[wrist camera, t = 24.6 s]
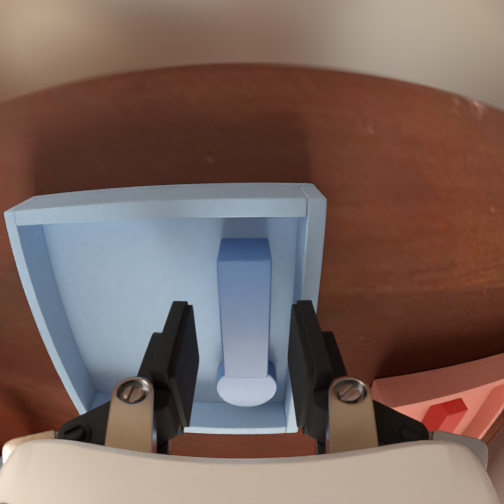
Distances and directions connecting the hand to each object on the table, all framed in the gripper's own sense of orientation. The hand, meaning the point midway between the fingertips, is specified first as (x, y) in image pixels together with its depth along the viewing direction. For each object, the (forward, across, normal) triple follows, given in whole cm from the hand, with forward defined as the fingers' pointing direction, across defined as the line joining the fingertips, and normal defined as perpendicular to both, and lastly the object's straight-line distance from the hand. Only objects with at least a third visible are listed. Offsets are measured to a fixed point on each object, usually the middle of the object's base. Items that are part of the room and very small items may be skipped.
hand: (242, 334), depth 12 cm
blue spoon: (+3, 0, +2) cm, 3 cm away
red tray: (+3, -15, +14) cm, 20 cm away
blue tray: (+3, +4, +2) cm, 5 cm away
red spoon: (+3, -15, +14) cm, 20 cm away
